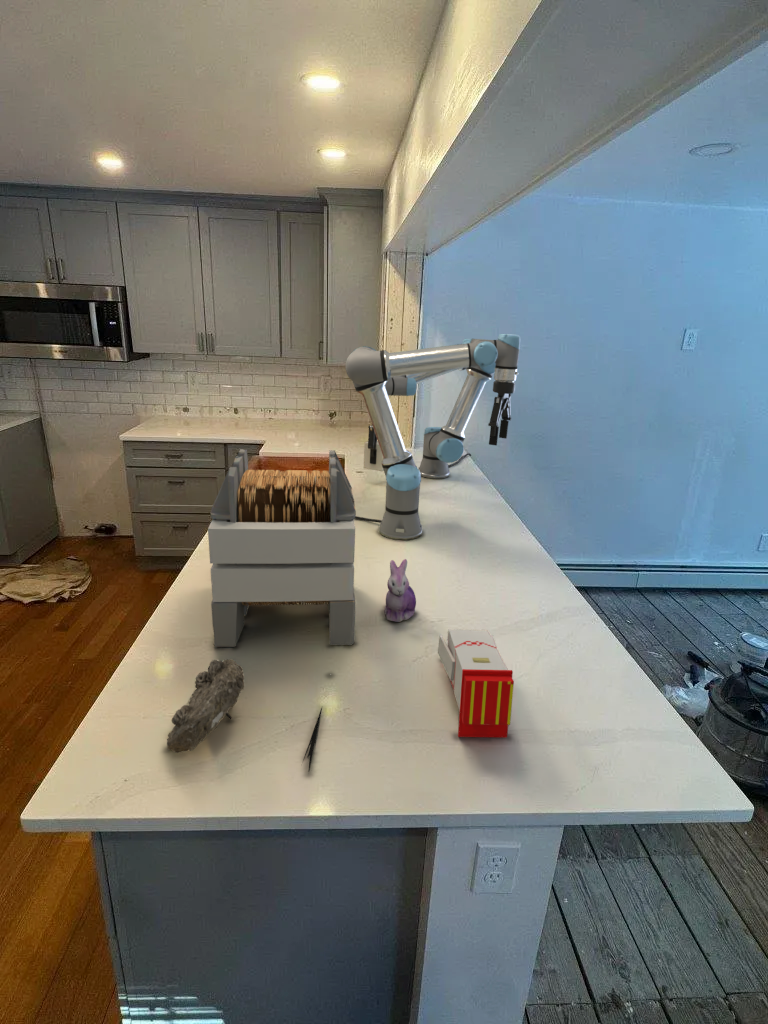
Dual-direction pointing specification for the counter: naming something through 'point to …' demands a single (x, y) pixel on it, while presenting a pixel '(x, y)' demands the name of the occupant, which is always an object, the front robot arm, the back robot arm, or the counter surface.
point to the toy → (478, 682)
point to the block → (378, 458)
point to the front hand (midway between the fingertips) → (497, 441)
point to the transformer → (282, 546)
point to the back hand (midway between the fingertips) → (376, 461)
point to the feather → (313, 740)
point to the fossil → (206, 705)
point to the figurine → (399, 594)
